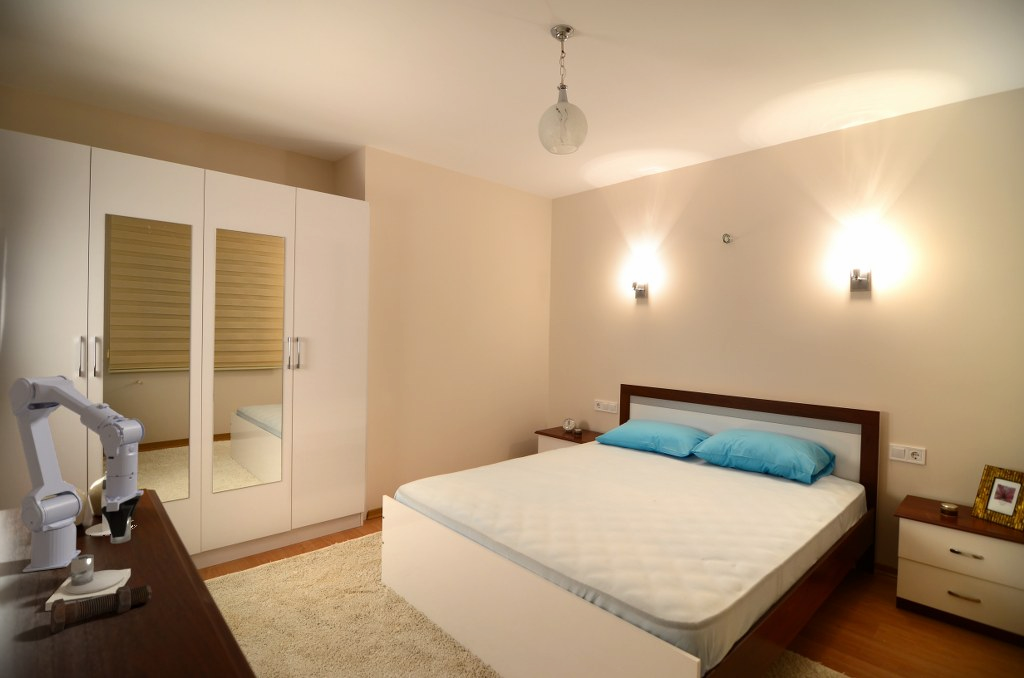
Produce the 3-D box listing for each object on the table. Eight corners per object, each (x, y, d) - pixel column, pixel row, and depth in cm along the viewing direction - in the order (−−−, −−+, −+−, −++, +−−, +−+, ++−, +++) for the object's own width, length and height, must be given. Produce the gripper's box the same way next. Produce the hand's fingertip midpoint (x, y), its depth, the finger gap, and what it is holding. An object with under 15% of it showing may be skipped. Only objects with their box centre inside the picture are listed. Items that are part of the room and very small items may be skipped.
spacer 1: (74, 579, 110) (75, 555, 110) (95, 576, 111) (96, 553, 111) (68, 587, 106) (68, 562, 106) (89, 584, 108) (90, 559, 108)
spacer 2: (113, 538, 119) (113, 516, 119) (132, 536, 121) (132, 514, 121) (108, 544, 116) (109, 521, 116) (128, 542, 117) (128, 519, 117)
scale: (69, 584, 112) (69, 573, 112) (131, 575, 117) (131, 564, 117) (44, 612, 101) (44, 599, 101) (114, 601, 105) (114, 589, 105)
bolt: (149, 612, 105) (51, 640, 94) (145, 592, 108) (49, 617, 97) (154, 592, 103) (54, 618, 92) (150, 572, 106) (53, 595, 96)
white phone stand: (134, 531, 143) (135, 477, 143) (81, 539, 137) (82, 482, 137) (138, 518, 153) (139, 467, 153) (88, 525, 147) (89, 472, 147)
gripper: (135, 480, 113) (134, 542, 113) (150, 465, 126) (149, 520, 126) (94, 483, 110) (93, 547, 110) (115, 467, 124) (114, 524, 124)
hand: (121, 533), depth 118 cm, fingers closed on spacer 2, 4 cm apart
